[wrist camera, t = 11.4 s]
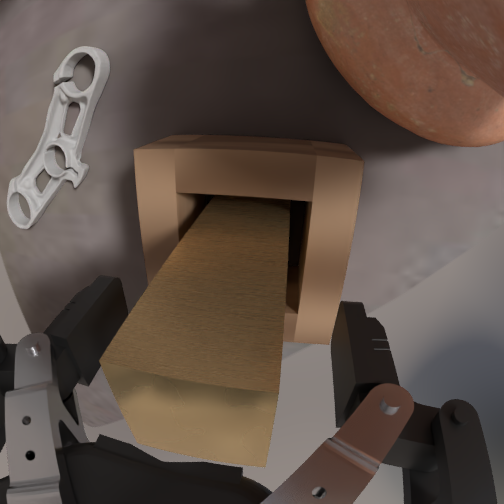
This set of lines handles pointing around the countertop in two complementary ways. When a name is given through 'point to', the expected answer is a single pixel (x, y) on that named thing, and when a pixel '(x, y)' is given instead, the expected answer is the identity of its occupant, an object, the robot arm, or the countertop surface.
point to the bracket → (59, 139)
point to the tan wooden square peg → (209, 337)
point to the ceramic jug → (422, 62)
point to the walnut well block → (258, 185)
